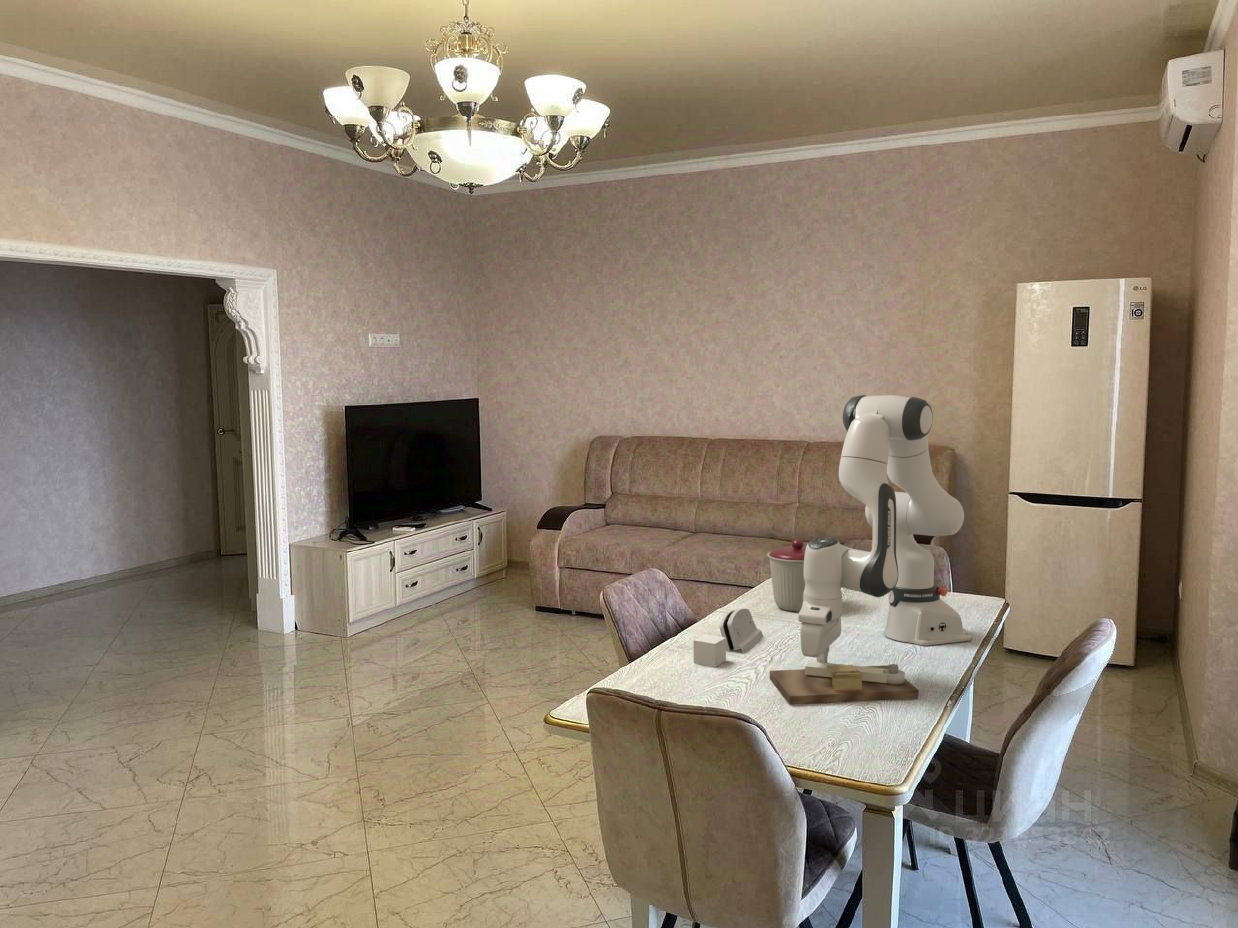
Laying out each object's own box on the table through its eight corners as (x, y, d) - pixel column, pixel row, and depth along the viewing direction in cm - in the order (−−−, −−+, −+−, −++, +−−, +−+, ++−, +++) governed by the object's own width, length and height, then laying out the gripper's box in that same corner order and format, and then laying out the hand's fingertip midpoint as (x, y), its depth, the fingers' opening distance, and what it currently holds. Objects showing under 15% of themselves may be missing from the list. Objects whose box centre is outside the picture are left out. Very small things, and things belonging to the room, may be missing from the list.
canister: (836, 604, 283) (836, 537, 281) (815, 618, 268) (815, 547, 265) (780, 597, 293) (781, 532, 290) (757, 610, 277) (757, 541, 275)
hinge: (744, 653, 236) (731, 616, 237) (727, 657, 238) (715, 621, 239) (763, 636, 251) (751, 601, 251) (748, 640, 253) (736, 605, 254)
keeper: (852, 681, 208) (852, 664, 208) (861, 690, 202) (862, 673, 202) (826, 682, 208) (826, 665, 207) (835, 692, 202) (835, 674, 201)
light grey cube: (715, 667, 226) (715, 643, 226) (693, 663, 229) (693, 640, 229) (726, 660, 231) (725, 637, 231) (704, 656, 235) (704, 633, 234)
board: (888, 673, 220) (889, 665, 219) (918, 698, 203) (918, 689, 203) (769, 678, 217) (769, 670, 217) (789, 705, 200) (789, 696, 200)
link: (905, 678, 209) (905, 663, 209) (903, 685, 205) (904, 669, 204) (808, 668, 217) (808, 653, 217) (804, 675, 212) (804, 659, 212)
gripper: (822, 596, 226) (822, 650, 227) (795, 616, 208) (795, 675, 209) (848, 598, 223) (847, 654, 224) (823, 619, 205) (822, 679, 206)
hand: (822, 664), depth 217 cm, fingers closed
